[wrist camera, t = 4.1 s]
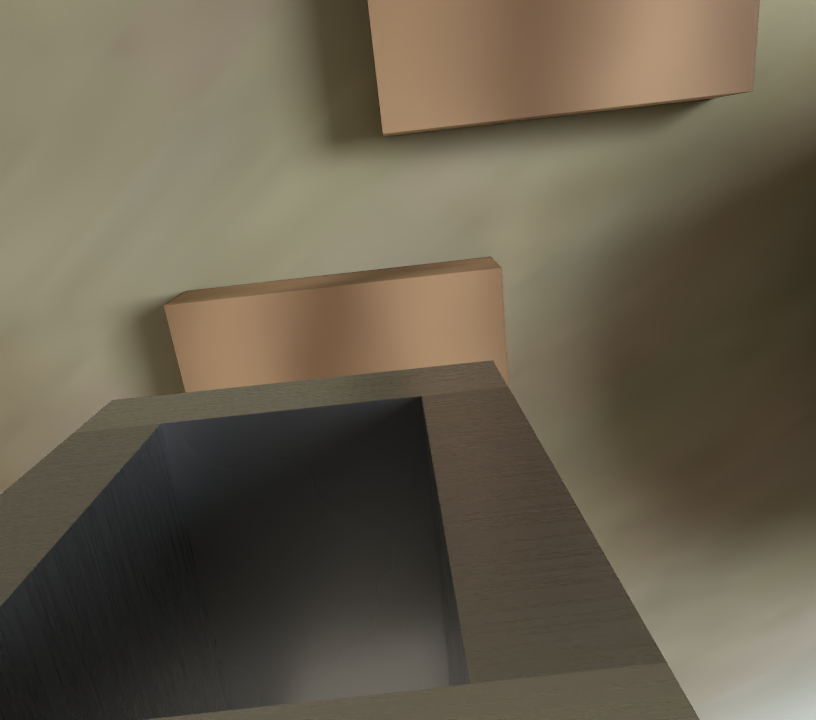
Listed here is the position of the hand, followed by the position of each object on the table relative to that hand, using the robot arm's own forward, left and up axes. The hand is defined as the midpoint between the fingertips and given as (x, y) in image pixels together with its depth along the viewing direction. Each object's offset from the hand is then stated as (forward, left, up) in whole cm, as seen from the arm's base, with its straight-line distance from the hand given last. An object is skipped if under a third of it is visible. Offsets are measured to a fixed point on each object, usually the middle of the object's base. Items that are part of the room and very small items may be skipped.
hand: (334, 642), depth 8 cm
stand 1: (+1, +2, -13) cm, 13 cm away
